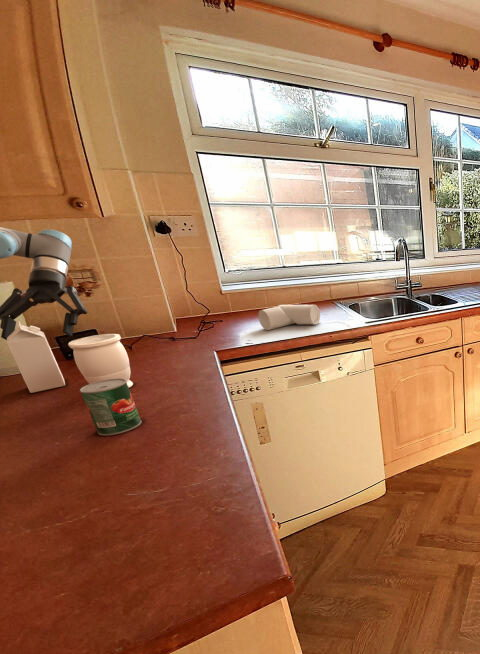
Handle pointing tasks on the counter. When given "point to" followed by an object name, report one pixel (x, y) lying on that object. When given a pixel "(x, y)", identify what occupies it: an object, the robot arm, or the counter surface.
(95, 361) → the jar
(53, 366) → the milk carton
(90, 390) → the canned tomato
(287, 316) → the l-shaped cylinder
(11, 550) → the counter surface
